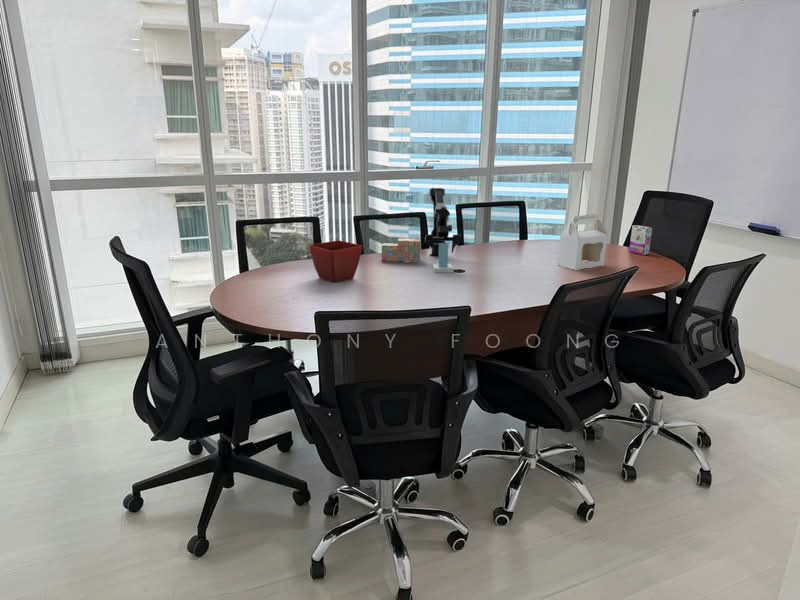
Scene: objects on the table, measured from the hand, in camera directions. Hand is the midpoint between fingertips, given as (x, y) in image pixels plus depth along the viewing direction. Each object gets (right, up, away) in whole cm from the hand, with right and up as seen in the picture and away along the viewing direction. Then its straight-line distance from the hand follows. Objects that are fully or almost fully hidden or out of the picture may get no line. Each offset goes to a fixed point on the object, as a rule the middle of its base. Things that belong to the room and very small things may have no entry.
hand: (443, 252), depth 300 cm
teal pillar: (0, -7, +4) cm, 8 cm away
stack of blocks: (-22, -3, +23) cm, 33 cm away
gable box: (+77, -6, +15) cm, 78 cm away
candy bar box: (+121, +3, +46) cm, 130 cm away
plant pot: (-55, -14, -13) cm, 58 cm away
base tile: (0, -9, +4) cm, 10 cm away
